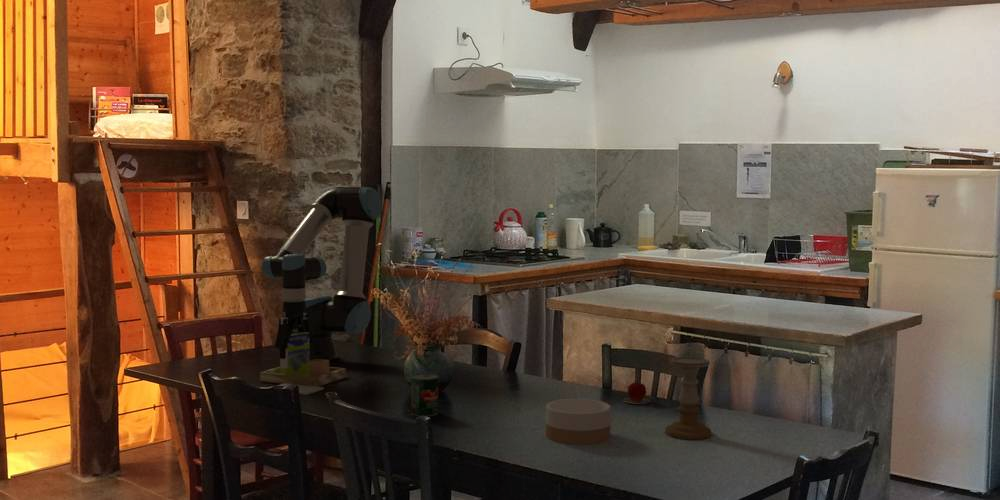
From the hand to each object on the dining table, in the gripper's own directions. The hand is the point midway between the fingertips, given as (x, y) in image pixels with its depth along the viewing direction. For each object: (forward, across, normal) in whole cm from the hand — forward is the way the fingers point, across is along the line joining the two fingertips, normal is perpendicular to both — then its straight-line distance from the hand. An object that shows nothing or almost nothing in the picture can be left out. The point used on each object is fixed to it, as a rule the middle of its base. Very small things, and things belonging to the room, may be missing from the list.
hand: (294, 365), depth 347 cm
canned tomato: (+5, +24, +64) cm, 68 cm away
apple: (+5, -17, +114) cm, 116 cm away
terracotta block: (+5, 0, +10) cm, 11 cm away
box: (+5, 0, 0) cm, 5 cm away
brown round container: (+5, +28, +112) cm, 116 cm away
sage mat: (+5, +14, +11) cm, 19 cm away
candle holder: (+5, +13, +138) cm, 139 cm away
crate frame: (+4, 0, +4) cm, 6 cm away
